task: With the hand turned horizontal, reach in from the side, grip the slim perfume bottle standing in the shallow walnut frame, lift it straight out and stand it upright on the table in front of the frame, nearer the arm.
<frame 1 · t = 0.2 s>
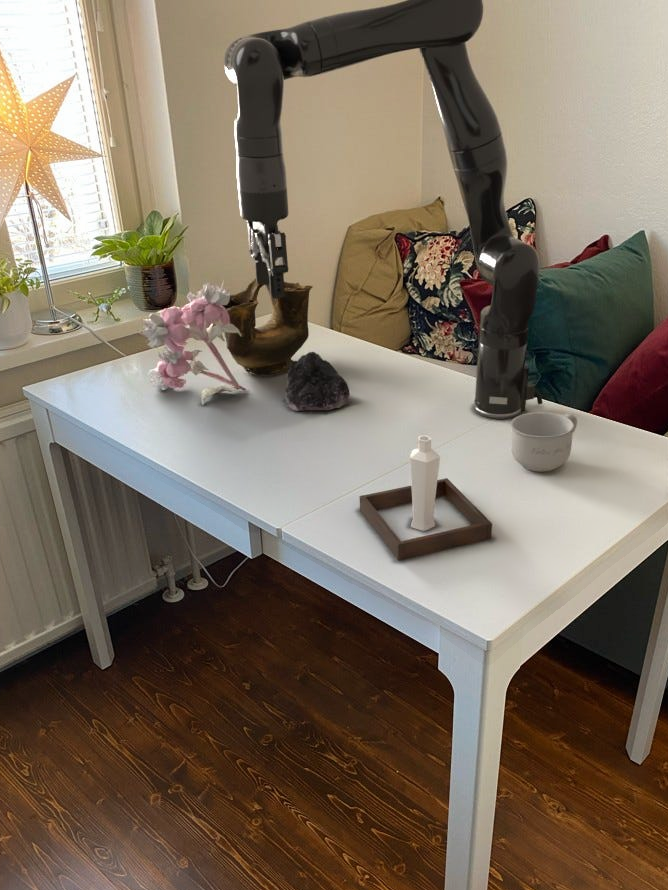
hand: (270, 290, 144), 29 cm above the table, tool pointing down, fingers open, 8 cm apart
flower: (189, 393, 182), on the table
teacup: (545, 462, 156), on the table
crystal cluster: (316, 401, 178), on the table
pottery vessel: (268, 369, 193), on the table
perfume bottle: (423, 525, 138), resting in walnut frame
walnut frame: (423, 524, 138), on the table
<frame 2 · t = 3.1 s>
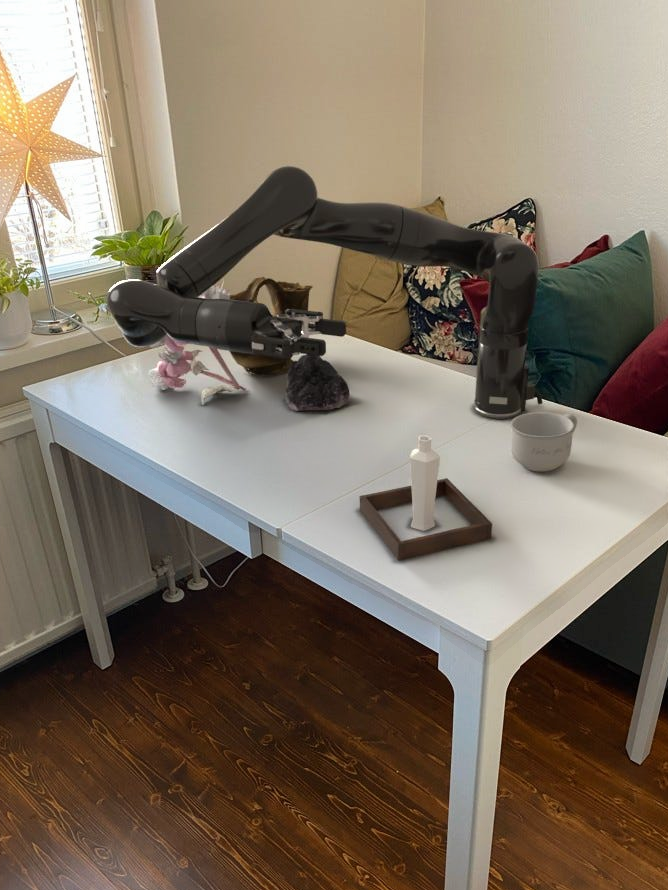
hand: (335, 338, 128), 28 cm above the table, tool horizontal, fingers open, 8 cm apart
nothing on the table moved.
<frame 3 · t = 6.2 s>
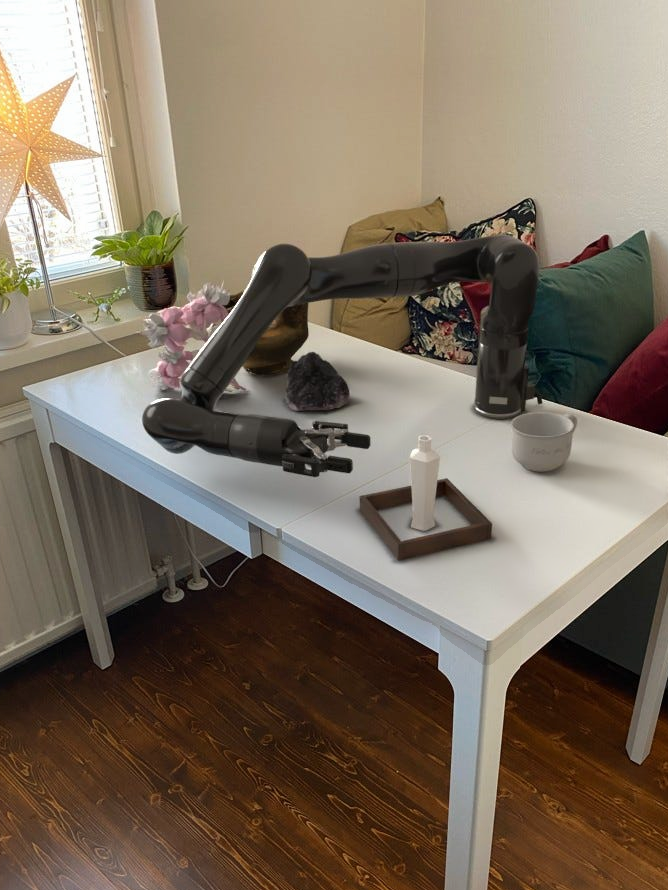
hand: (361, 454, 135), 11 cm above the table, tool horizontal, fingers open, 8 cm apart
nothing on the table moved.
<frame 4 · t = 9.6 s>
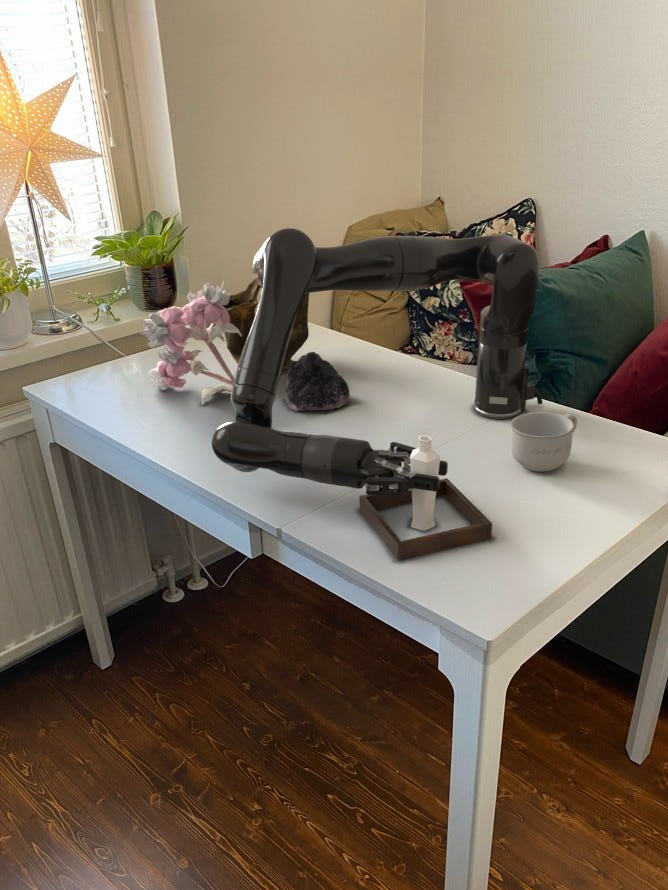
hand: (442, 476, 133), 9 cm above the table, tool horizontal, fingers closed on perfume bottle, 4 cm apart
perfume bottle: (423, 525, 138), resting in walnut frame, touching gripper
everything else where it was.
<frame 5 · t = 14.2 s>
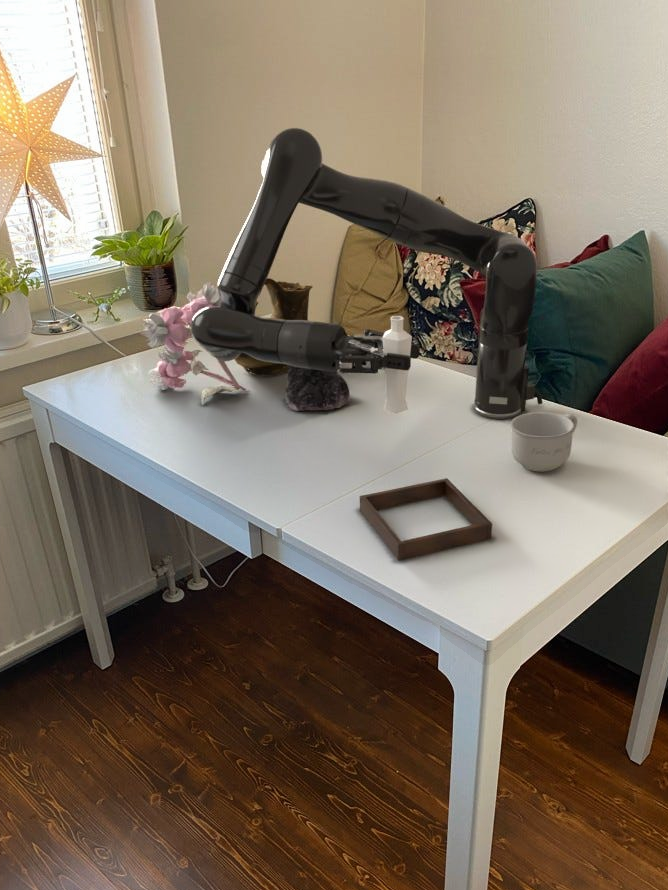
hand: (414, 357, 137), 23 cm above the table, tool horizontal, fingers closed on perfume bottle, 4 cm apart
perfume bottle: (396, 409, 142), point 13 cm above the table, touching gripper
everything else where it was.
when the fingers open (9 cm above the table, at t = 19.0 s): perfume bottle stays where it is, on the table.
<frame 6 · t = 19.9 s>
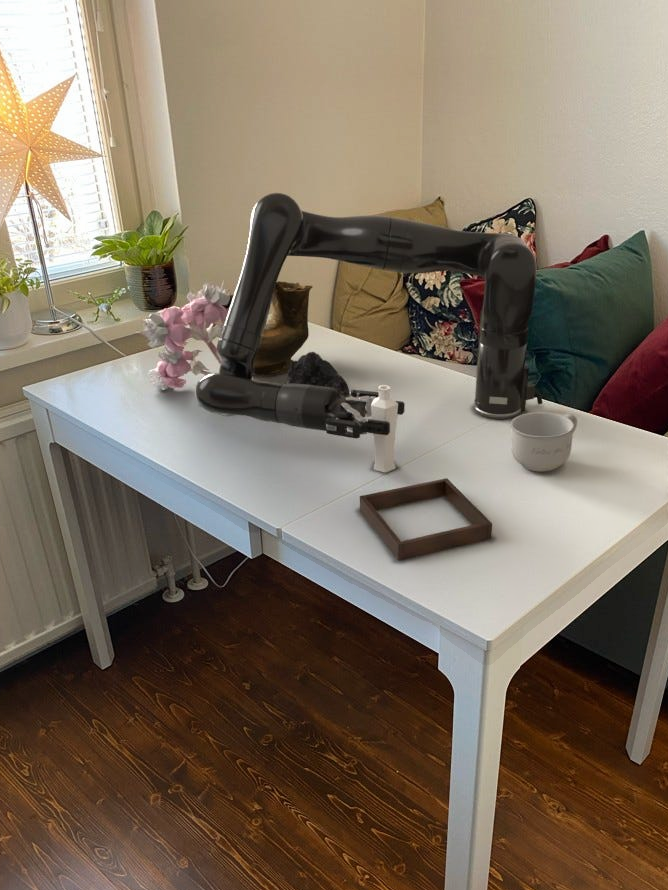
hand: (396, 418, 149), 10 cm above the table, tool horizontal, fingers open, 8 cm apart
perfume bottle: (385, 468, 154), on the table
everything else where it was.
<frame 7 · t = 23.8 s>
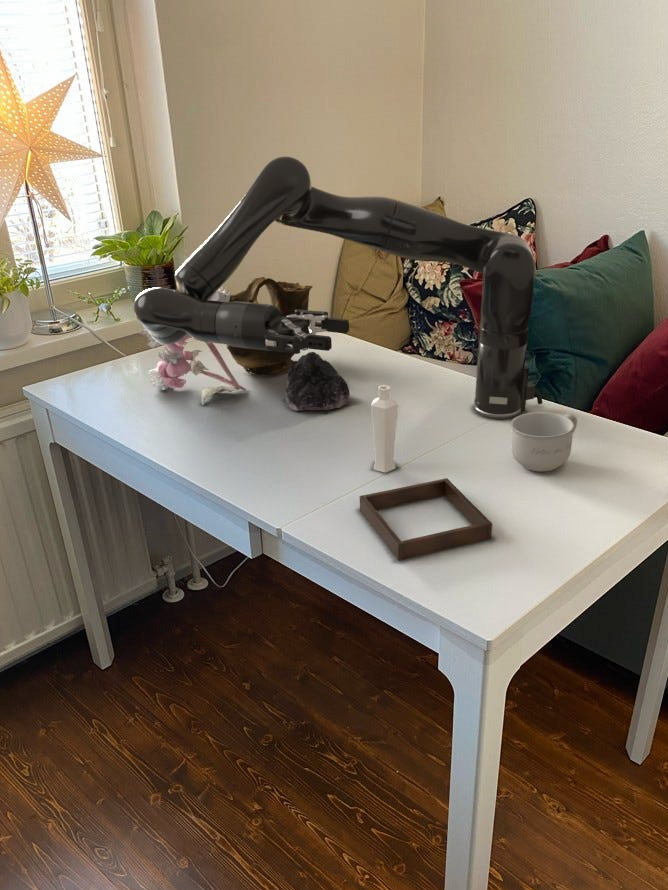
hand: (339, 335, 144), 23 cm above the table, tool horizontal, fingers open, 8 cm apart
nothing on the table moved.
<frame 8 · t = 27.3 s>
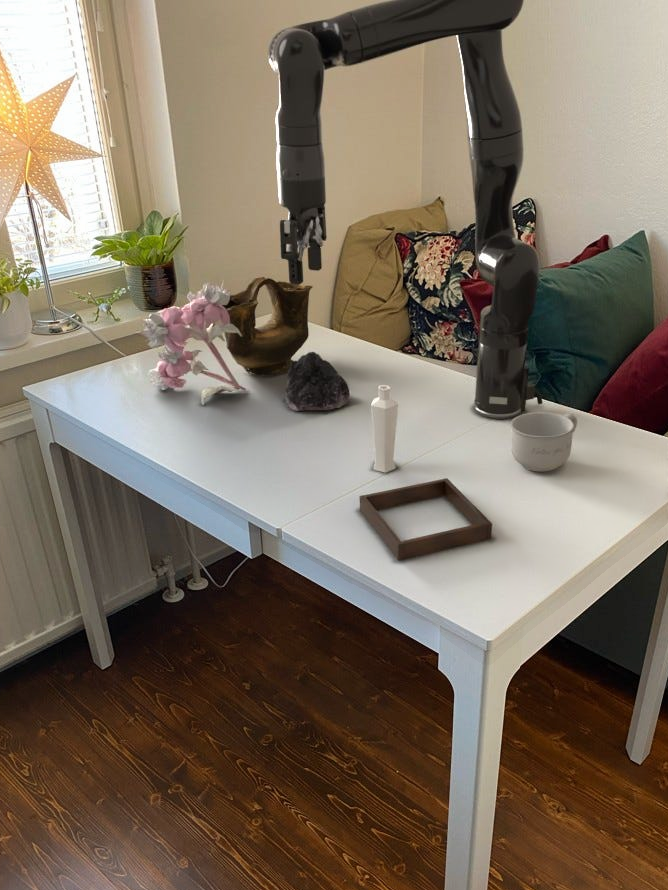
hand: (306, 276, 148), 30 cm above the table, tool pointing down, fingers open, 8 cm apart
nothing on the table moved.
at the end: perfume bottle inside the target area (0.2 cm from its centre), on the table; perfume bottle tilted 0°; the gripper is holding nothing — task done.
